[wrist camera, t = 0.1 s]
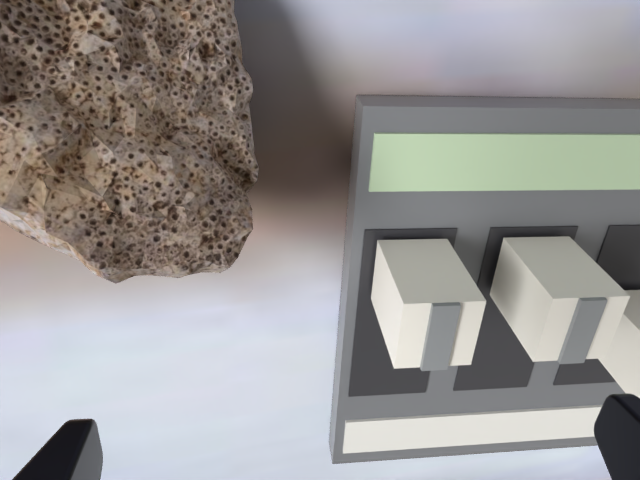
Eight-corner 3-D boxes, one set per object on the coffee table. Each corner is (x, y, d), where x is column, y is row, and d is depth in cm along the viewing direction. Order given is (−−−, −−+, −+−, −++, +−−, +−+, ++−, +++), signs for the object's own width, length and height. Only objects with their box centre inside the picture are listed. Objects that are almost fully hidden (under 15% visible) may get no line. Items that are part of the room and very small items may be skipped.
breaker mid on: (551, 292, 25) (607, 361, 21) (489, 294, 25) (535, 365, 21) (569, 236, 24) (633, 299, 20) (503, 237, 23) (556, 302, 19)
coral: (327, 45, 21) (329, 259, 15) (196, 170, 26) (158, 365, 20) (-90, -299, 13) (-434, -152, 7) (-153, -25, 19) (-382, 191, 13)
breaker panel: (588, 424, 33) (603, 447, 32) (328, 441, 32) (332, 466, 30) (723, 100, 23) (754, 111, 22) (356, 95, 22) (364, 107, 20)
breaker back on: (436, 296, 25) (472, 368, 21) (371, 298, 24) (395, 372, 20) (447, 238, 23) (488, 304, 19) (377, 240, 23) (405, 307, 19)
